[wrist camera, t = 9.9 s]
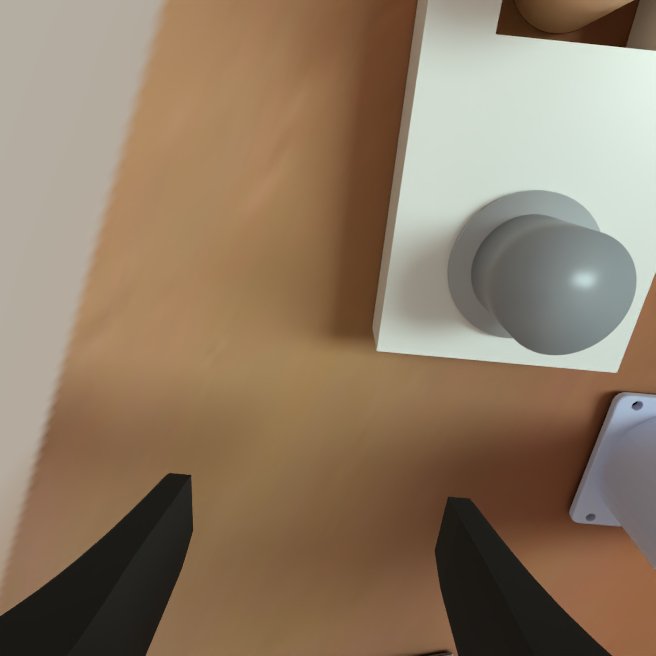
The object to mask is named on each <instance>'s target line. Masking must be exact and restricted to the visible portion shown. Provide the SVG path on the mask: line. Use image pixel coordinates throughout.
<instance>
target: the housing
mask: <svg viewBox="0 0 656 656" xmlns="http://www.w3.org/2000/svg"><path fill="white" fill-rule="evenodd" d="M501 4H502V0H418V3H417V10H416V17H415V24H414V32H413V39H412V46H411V53H410V60H409V67H408V75H407V82H406V89H405V96H404V103H403V110H402V118H401V125H400V132H399V139H398V146H397V153H396V161H395V168H394V175H393V182H392V189H391V196H390V204H389V211H388V218H387V225H386V232H385V239H384V247H383V254H382V261H381V268H380V275H379V282H378V290H377V297H376V304H375V311H374V318H373V325H372V330H373V335H374V340H375V345H376V350H377V351H382V352H393V353H404V354H415V355H426V356H437V357H448V358H459V359H470V360H481V361H492V362H504V363H515V364H526V365H537V366H548V367H559V368H570V369H581V370H592V371H603V372H614V373H617V371H618V369H619V366H620V363H621V361H622V358H623V356H624V353H625V350H626V348H627V345H628V342H629V340H630V337H631V335H632V332H633V329H634V327H635V324H636V322H637V319H638V316H639V314H640V311H641V309H642V306H643V303H644V301H645V298H646V296H647V293H648V290H649V288H650V285H651V283H652V280H653V277H654V275H655V272H656V0H640V1H639V4H638V7H637V11H636V14H635V18H634V21H633V24H632V28H631V31H630V34H629V38H628V41H627V44H626V48H623V47H613V46H604V45H594V44H584V43H575V42H565V41H555V40H546V39H536V38H527V37H517V36H507V35H498V34H496V29H497V24H498V19H499V14H500V9H501Z"/></svg>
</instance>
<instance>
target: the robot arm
mask: <svg viewBox="0 0 656 656" xmlns="http://www.w3.org/2000/svg"><path fill="white" fill-rule="evenodd" d="M636 401H638V402H637V403H636V405H634V406H632V405H633V403H635V402H636ZM569 515H570V517H571V518H572V520H573V521H574V522H577V523H585V524H597V525H609V526H620V527H623V529H624V530H625V531H626V533H627V534H628V535H629V537H630V538H631V539H632V541H633V542H634V543H635V545H636V546H637V547H638V549H639V550H640V551H641V552H642V554H643V555H644V556H645V558H646V559H647V560H648V562H649V563H650V564H651V566H652V567H653V568H654V570H655V571H656V395H652V394H641V393H630V392H622V393H620V394H618V395H616V396H615V397H614V399H613V400H612V403H611V405H610V408H609V410H608V413H607V416H606V418H605V421H604V423H603V426H602V428H601V431H600V434H599V436H598V439H597V441H596V444H595V446H594V449H593V451H592V454H591V457H590V459H589V462H588V464H587V467H586V469H585V472H584V475H583V477H582V480H581V482H580V485H579V487H578V490H577V493H576V495H575V498H574V500H573V503H572V505H571V508H570V511H569ZM192 532H193V516H192V486H191V475H185V474H173V473H169V474H167V475H166V476H165V477H164V478H163V479H162V480H161V481H160V482H159V483H158V484H157V485H156V486H155V487H154V488H153V489H152V490H151V491H150V492H149V493H148V494H147V495H146V496H145V497H144V498H143V499H142V500H141V501H140V502H139V503H138V504H137V505H136V506H135V507H134V508H133V509H132V510H131V511H130V512H129V513H128V514H127V515H126V516H125V517H124V518H123V519H122V520H121V521H120V522H119V523H118V524H117V525H116V526H115V527H113V528H112V529H111V530H110V531H109V532H108V533H107V534H106V535H105V536H104V537H103V538H101V539H100V540H99V541H98V542H97V543H96V544H94V545H93V546H92V547H91V548H90V549H89V550H88V551H86V552H85V553H84V554H83V555H82V556H81V557H79V558H78V559H77V560H76V561H75V562H73V563H72V564H71V565H70V566H68V567H67V568H66V569H65V570H64V571H62V572H61V573H60V574H58V575H57V576H56V577H55V578H53V579H52V580H51V581H49V582H48V583H47V584H45V585H44V586H43V587H41V588H40V589H39V590H37V591H36V592H35V593H33V594H32V595H30V596H29V597H28V598H26V599H25V600H23V601H22V602H20V603H19V604H18V605H16V606H15V607H13V608H12V609H10V610H9V611H7V612H6V613H4V614H3V615H2V616H0V656H146V653H147V651H148V648H149V646H150V644H151V641H152V639H153V636H154V634H155V632H156V629H157V627H158V625H159V622H160V620H161V617H162V615H163V613H164V610H165V608H166V605H167V603H168V601H169V598H170V596H171V593H172V591H173V589H174V586H175V584H176V581H177V579H178V577H179V574H180V572H181V569H182V566H183V563H184V560H185V556H186V553H187V550H188V546H189V543H190V539H191V536H192ZM435 555H436V562H437V569H438V576H439V582H440V588H441V592H442V596H443V600H444V604H445V608H446V611H447V615H448V619H449V623H450V626H451V630H452V634H453V637H454V641H455V645H456V649H457V652H458V656H612V655H611V654H609V653H608V652H607V651H606V650H605V649H604V648H603V647H602V646H601V645H600V644H598V643H597V642H596V641H595V640H594V639H593V638H592V637H591V636H590V635H589V634H588V633H587V632H586V631H585V630H584V629H583V628H582V627H581V626H580V625H579V624H578V623H576V622H575V621H574V620H573V619H572V618H571V617H570V616H569V615H568V614H567V613H566V612H565V611H564V610H563V609H562V608H561V607H560V606H559V605H558V604H557V602H556V601H555V600H554V599H553V598H552V597H551V596H550V595H549V594H548V593H547V592H546V591H545V589H544V588H543V587H542V586H541V585H540V584H539V583H538V582H537V581H536V580H535V579H534V577H533V576H532V575H531V574H530V573H529V572H528V570H527V569H526V568H525V567H524V566H523V565H522V563H521V562H520V561H519V560H518V559H517V557H516V556H515V555H514V554H513V553H512V551H511V550H510V549H509V548H508V546H507V545H506V544H505V543H504V542H503V540H502V539H501V538H500V536H499V535H498V534H497V533H496V531H495V530H494V529H493V528H492V526H491V525H490V524H489V522H488V521H487V520H486V519H485V517H484V516H483V515H482V514H481V512H480V511H479V510H478V508H477V507H476V506H475V505H474V503H473V502H472V501H471V500H470V499H468V498H456V497H448V500H447V504H446V508H445V512H444V516H443V520H442V524H441V528H440V532H439V536H438V540H437V544H436V548H435Z"/></svg>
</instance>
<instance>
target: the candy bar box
mask: <svg viewBox="0 0 656 656" xmlns="http://www.w3.org/2000/svg"><path fill="white" fill-rule="evenodd" d="M429 656H454V654H453V653H442V654H436V655H429Z"/></svg>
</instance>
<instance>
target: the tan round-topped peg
mask: <svg viewBox="0 0 656 656" xmlns="http://www.w3.org/2000/svg"><path fill="white" fill-rule="evenodd" d="M631 1H633V0H514V2H515V4H516V7H517V9H518V10H519V12H520V13H521V15H522V16H523V17H524V19H525V20H526V21H527V22H528V23H530V24H531V25H532V26H534V27H535V28H537V29H539V30H542V31H545V32H549V33H568V32H571V31H575V30H577V29H580V28H582V27H584V26H586V25H588V24H590V23H592V22H594V21H595V20H597V19H599V18H601V17H603V16H605V15H607V14H609V13H611V12H612V11H614V10H616V9H618V8H620V7H622V6H624V5H626V4H628V3H629V2H631Z"/></svg>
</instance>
